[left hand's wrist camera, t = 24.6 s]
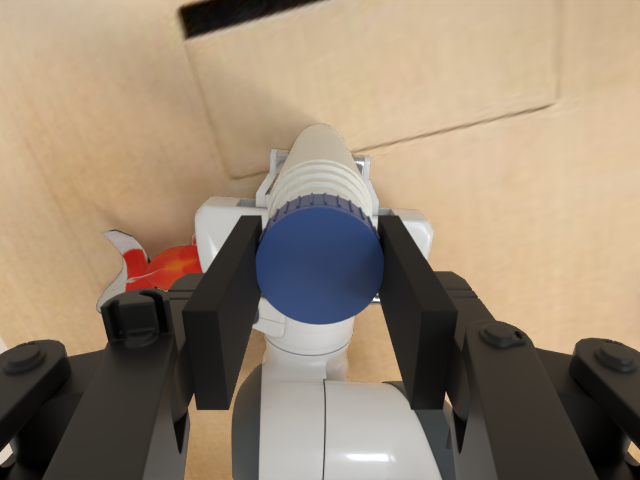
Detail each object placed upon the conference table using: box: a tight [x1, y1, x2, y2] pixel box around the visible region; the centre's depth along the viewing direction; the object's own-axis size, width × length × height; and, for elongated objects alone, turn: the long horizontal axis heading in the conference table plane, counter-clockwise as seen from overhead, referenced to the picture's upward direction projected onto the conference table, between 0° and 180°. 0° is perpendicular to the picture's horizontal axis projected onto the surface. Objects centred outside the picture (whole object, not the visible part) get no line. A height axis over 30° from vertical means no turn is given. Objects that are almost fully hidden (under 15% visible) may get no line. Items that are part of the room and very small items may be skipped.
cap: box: [256, 193, 384, 325], centre depth 14 cm, size 4×4×2 cm
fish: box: [96, 230, 203, 314], centre depth 38 cm, size 11×16×10 cm
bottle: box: [268, 124, 372, 221], centre depth 25 cm, size 5×5×25 cm
